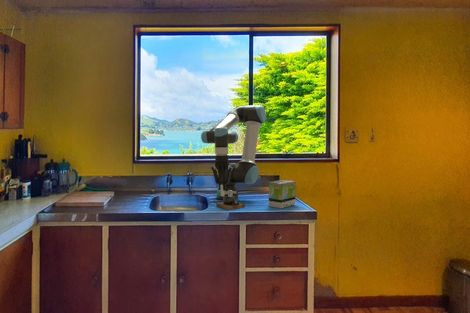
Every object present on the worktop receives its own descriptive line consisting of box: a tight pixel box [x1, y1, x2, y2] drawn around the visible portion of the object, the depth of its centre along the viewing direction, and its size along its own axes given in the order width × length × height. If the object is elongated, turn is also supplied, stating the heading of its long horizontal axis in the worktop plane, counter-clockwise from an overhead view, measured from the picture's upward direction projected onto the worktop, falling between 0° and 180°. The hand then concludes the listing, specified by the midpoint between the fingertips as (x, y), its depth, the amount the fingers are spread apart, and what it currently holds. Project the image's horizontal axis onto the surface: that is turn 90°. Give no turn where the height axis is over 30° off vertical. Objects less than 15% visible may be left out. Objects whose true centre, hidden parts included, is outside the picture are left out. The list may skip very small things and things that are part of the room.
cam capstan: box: [216, 189, 236, 205], centre depth 205 cm, size 12×7×8 cm, turn 130°
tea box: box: [268, 179, 297, 209], centre depth 210 cm, size 15×10×15 cm
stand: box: [215, 200, 246, 211], centre depth 207 cm, size 12×12×4 cm
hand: (222, 195), depth 201 cm, fingers closed
